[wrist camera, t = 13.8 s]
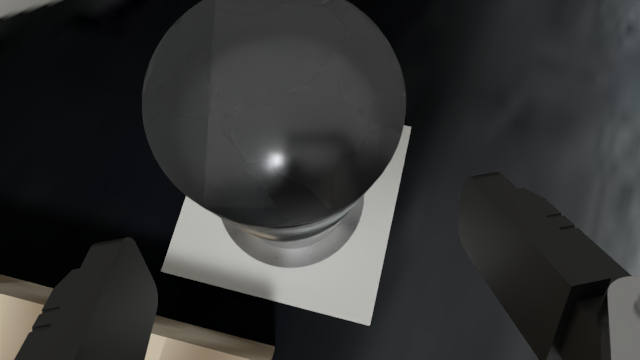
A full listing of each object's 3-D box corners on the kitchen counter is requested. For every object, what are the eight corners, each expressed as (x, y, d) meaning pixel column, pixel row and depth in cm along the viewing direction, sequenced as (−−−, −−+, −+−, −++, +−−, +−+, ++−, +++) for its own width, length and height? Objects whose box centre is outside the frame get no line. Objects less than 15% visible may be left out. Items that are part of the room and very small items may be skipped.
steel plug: (373, 153, 20) (473, -7, 8) (341, 283, 18) (408, 317, 7) (247, 119, 20) (168, -87, 8) (205, 246, 19) (39, 216, 7)
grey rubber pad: (408, 131, 21) (411, 127, 20) (367, 324, 19) (369, 325, 18) (227, 86, 21) (224, 81, 21) (165, 271, 19) (160, 271, 18)
